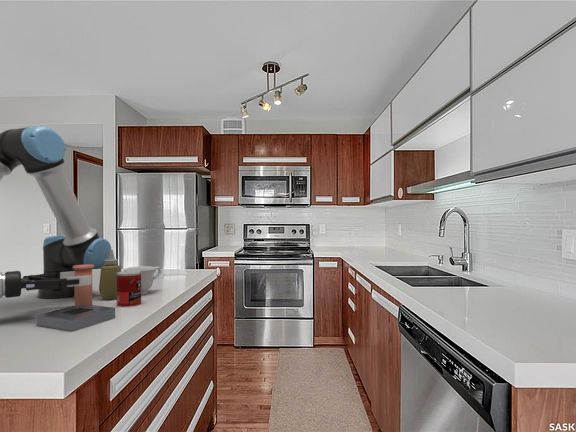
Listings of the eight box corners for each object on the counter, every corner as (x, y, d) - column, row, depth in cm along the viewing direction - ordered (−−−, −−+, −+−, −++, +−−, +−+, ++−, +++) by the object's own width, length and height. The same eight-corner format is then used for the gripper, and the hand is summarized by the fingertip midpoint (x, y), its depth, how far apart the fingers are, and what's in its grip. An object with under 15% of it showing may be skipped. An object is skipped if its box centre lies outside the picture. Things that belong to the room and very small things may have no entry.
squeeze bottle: (127, 296, 138) (127, 249, 138) (111, 301, 131) (110, 251, 131) (111, 295, 141) (110, 248, 141) (93, 300, 133) (93, 250, 133)
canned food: (132, 307, 123) (132, 274, 123) (111, 306, 124) (111, 273, 124) (146, 301, 130) (145, 270, 130) (125, 300, 132) (125, 270, 132)
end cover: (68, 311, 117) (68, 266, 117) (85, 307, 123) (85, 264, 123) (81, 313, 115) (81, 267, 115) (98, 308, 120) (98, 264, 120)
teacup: (168, 292, 147) (168, 267, 147) (132, 298, 136) (132, 271, 136) (153, 288, 155) (153, 264, 155) (117, 294, 144) (117, 268, 144)
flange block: (36, 325, 102) (36, 314, 102) (82, 313, 115) (82, 303, 115) (71, 331, 97) (71, 320, 97) (115, 317, 109) (115, 307, 109)
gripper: (2, 291, 115) (79, 283, 129) (5, 306, 96) (94, 294, 109) (2, 267, 115) (79, 262, 129) (5, 277, 96) (94, 269, 109)
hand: (86, 277), depth 119 cm, fingers open, 13 cm apart
